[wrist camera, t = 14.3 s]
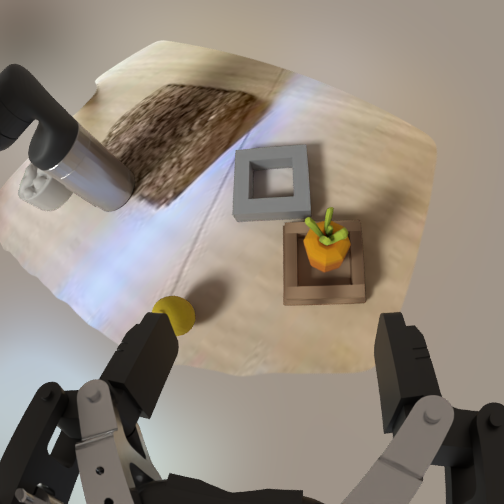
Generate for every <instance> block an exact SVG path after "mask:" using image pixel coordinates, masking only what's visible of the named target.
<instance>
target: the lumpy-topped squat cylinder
mask: <svg viewBox="0 0 504 504" xmlns="http://www.w3.org/2000/svg"><path fill="white" fill-rule="evenodd" d="M72 193H73V192H72V191H70V190H68V189H67V188H65V185H63V184H62V183H60V182H59V181H57V180H56V179H54V178H53V177H51V176H50V175H48V174H47V173H45V172H44V171H42V170H40V169H39V168H37V167H36V166H34V165H33V164H32V163H30V164H29V166H28V167H27V168H26V170H25V173H24V176H23V178H22V181H21V183H20V187H19V190H18V196H19V198H20V199H22V200H23V201H25V202H27V203H29V204H31V205H33V206H35V207H36V208H38V209H40V210H43V211H54V210H56V209H58V208H59V207H61V206H62V205H63V204H64V203H65V202H66V201H67V200H68V199H69V198H70V196H71V195H72Z"/></svg>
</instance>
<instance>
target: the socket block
mask: <svg viewBox="0 0 504 504" xmlns="http://www.w3.org/2000/svg"><path fill="white" fill-rule="evenodd" d="M279 168H293V186H294V196H292V197H274V198H258V199H253V170H265V169H279ZM232 215H233V216H234V218H235V219H236V220H237V222H246V221H265V220H285V219H306V218H308V217H310V218H311V204H310V188H309V173H308V160H307V148H306V145H290V146H276V147H264V148H253V149H243V150H236V153H235V172H234V192H233V214H232Z"/></svg>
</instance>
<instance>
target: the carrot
mask: <svg viewBox="0 0 504 504" xmlns="http://www.w3.org/2000/svg"><path fill="white" fill-rule="evenodd" d="M333 209H334V208H333V207H330V208H328V209H327V211H326V216H325V221H322V222H319V223H316V222H315V221H314V220H313V219H312V218H310V217H308V218H306V219H305V223H306V225H307V226H308V227H309V228H310V229H309V231H308V233H307V235H306V237H305V239H304V241H303V242H304V246H305V249H306V252H307V255H308V259H309V262H310V265H311V266H312V267H314V268H316V269H318V270H320V271H322V272H324V273H325V272H328V271H331V270H334V269H337V268H339V267H340V266H341V264H342V262H343V260H344V258H345V256H346V254H347V252H348V250H349V248H350V246H351V243H350V241H349V238H348V231H347V229H346V228H345V227H343V226H341V225H339V224H337V223H335V222H333V221H331V219H332V215H333Z"/></svg>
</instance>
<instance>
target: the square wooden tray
mask: <svg viewBox="0 0 504 504" xmlns="http://www.w3.org/2000/svg"><path fill="white" fill-rule="evenodd" d="M315 222H316V223H319V222H322V221H315ZM333 222H335V223H337V224H339V225H341V226H343V227H345V228H346V229H347V231H348V238H349V241H350V243H351V246H350V248H349V250H348V252H347V254H346V256H345V258H344V260H343V262H342V264H341V266H340V267H339V268H337V269H334V270H331V271H328V272H325V273H324V272H322V271H320V270H318V269H316V268H314V267H312V266H311V265H310V262H309V259H308V255H307V252H306V249H305V246H304V242H303V241H304V239H305V237H306V235H307V233H308V231H309V229H310V228H309V227H308V226H307V225H306V223H305V222H290V223H285V226H283V273H284V294H283V305H329V304H355V303H365V302H366V294H365V273H364V257H363V244H362V232H361V223H360V220H342V221H333Z"/></svg>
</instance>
